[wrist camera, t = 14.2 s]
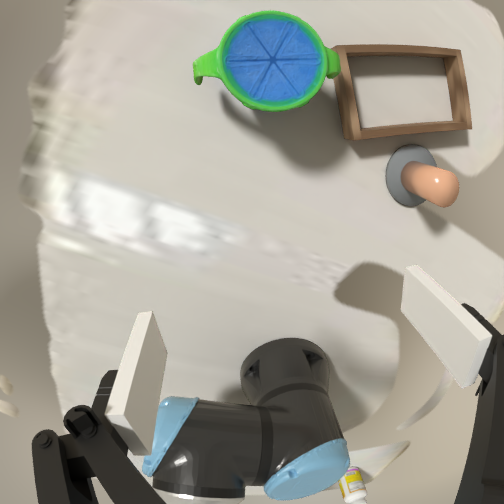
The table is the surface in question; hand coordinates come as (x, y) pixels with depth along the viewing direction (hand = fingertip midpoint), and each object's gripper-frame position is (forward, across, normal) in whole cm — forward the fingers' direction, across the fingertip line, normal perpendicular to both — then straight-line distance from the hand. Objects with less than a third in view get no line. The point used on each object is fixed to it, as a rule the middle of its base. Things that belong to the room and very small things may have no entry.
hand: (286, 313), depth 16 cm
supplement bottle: (+28, -17, +80) cm, 87 cm away
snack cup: (+28, -4, -15) cm, 32 cm away
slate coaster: (+27, -24, 0) cm, 36 cm away
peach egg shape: (+27, -24, 0) cm, 36 cm away
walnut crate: (+27, -23, -12) cm, 38 cm away
